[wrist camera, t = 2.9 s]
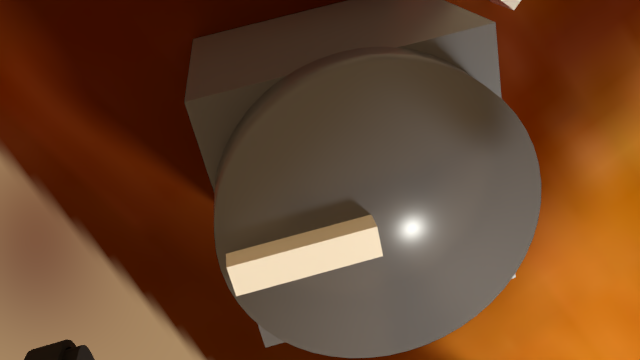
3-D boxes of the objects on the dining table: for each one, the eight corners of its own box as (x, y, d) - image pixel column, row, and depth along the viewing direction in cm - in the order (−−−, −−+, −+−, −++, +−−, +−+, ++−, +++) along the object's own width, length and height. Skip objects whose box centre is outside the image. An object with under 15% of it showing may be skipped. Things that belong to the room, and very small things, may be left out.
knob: (413, -24, 17) (546, 26, 10) (441, 181, 20) (559, 324, 13) (183, 33, 17) (164, 124, 10) (246, 234, 20) (265, 408, 13)
